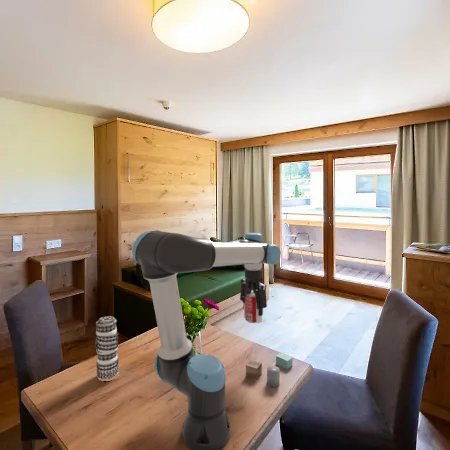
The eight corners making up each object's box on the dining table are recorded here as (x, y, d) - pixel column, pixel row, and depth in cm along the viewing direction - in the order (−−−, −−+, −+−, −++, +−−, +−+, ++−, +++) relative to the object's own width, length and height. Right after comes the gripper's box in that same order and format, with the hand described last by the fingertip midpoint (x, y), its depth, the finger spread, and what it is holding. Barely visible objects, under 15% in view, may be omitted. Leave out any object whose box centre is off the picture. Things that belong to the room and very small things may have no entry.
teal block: (287, 369, 131) (287, 361, 131) (275, 364, 136) (276, 355, 135) (292, 366, 134) (292, 357, 134) (281, 361, 138) (281, 352, 138)
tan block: (256, 380, 124) (256, 368, 123) (245, 376, 126) (245, 365, 126) (261, 374, 128) (261, 362, 128) (251, 370, 130) (251, 359, 130)
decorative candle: (91, 381, 123) (88, 321, 120) (105, 368, 132) (103, 313, 129) (110, 384, 120) (108, 324, 118) (123, 371, 129) (122, 315, 127)
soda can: (260, 318, 136) (261, 292, 135) (260, 324, 129) (261, 297, 128) (245, 317, 137) (245, 291, 136) (244, 323, 130) (244, 296, 129)
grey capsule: (273, 388, 118) (273, 374, 117) (264, 382, 122) (264, 368, 121) (282, 384, 121) (282, 369, 120) (272, 378, 125) (272, 364, 124)
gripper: (276, 271, 126) (275, 324, 128) (244, 263, 141) (243, 311, 143) (264, 274, 121) (263, 329, 123) (231, 265, 136) (231, 314, 138)
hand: (252, 319), depth 133 cm, fingers closed on soda can, 7 cm apart
